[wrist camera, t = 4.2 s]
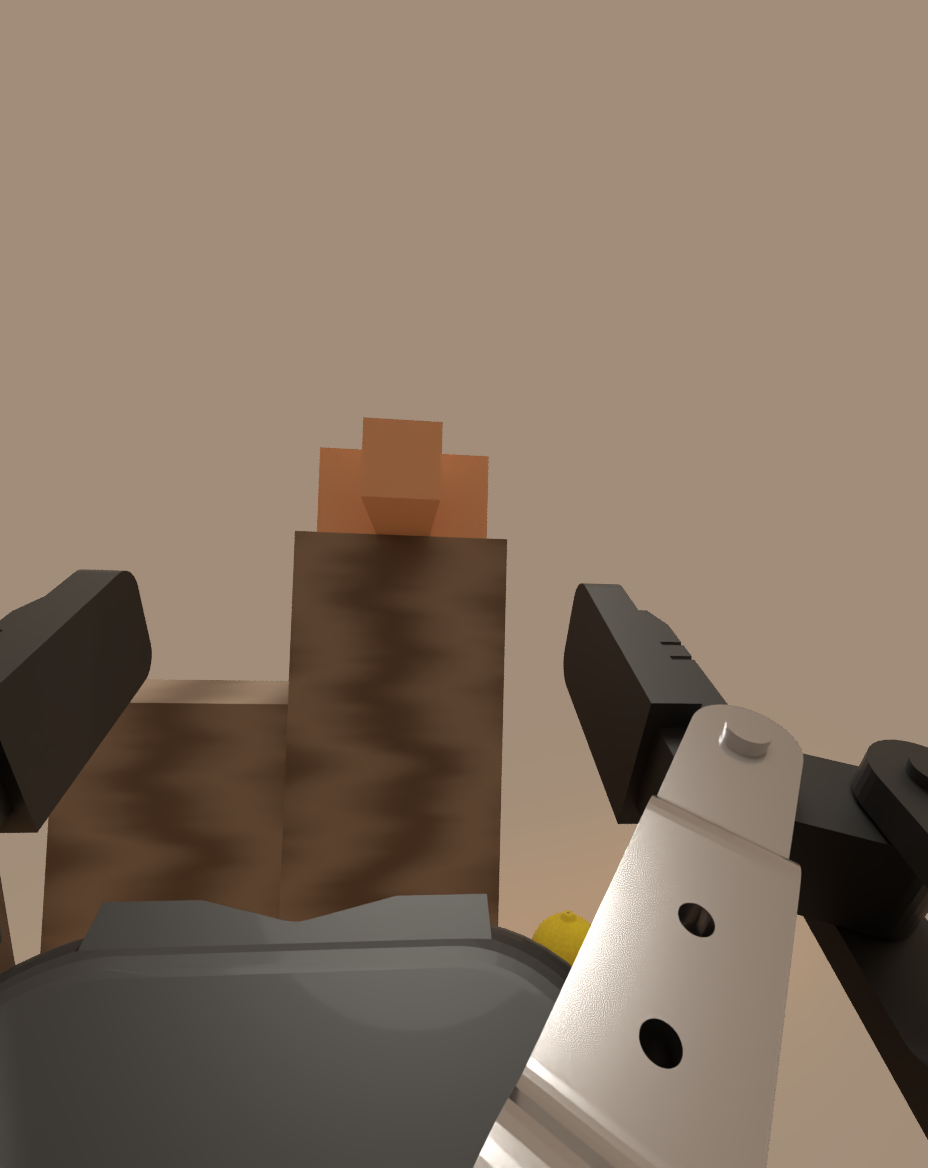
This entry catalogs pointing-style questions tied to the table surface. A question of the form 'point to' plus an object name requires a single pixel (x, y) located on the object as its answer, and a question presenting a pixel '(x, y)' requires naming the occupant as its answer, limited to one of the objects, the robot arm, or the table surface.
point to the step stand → (310, 753)
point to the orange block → (402, 484)
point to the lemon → (563, 934)
